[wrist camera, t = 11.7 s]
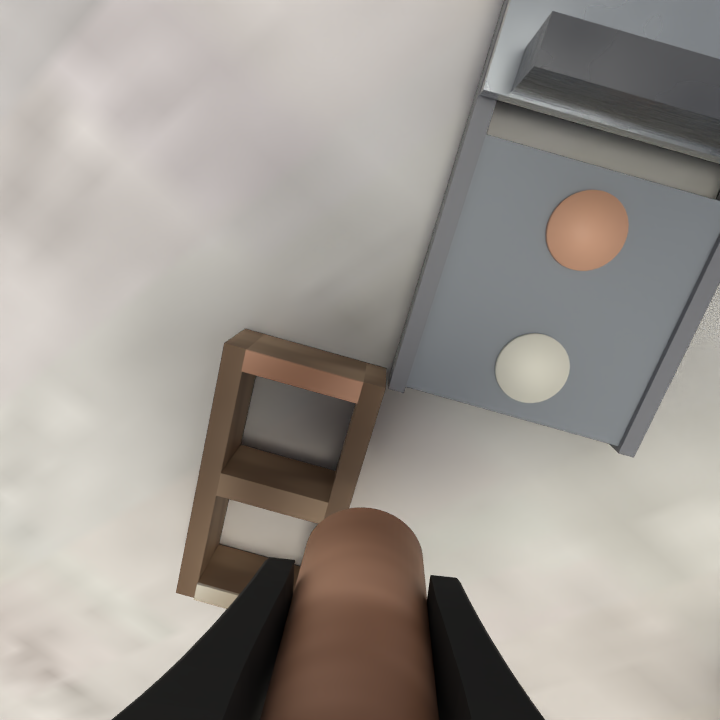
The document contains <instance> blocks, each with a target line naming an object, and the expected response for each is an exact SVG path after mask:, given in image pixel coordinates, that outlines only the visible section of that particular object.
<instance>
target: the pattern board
mask: <svg viewBox="0 0 720 720" xmlns="http://www.w3.org/2000/svg"><path fill="white" fill-rule="evenodd" d="M508 1H509V0H504V3H503V6H502V9H501V13H500V16H499V19H498V23H497V26H496V29H495V32H494V36H493V39H492V42H491V45H490V49H489V52H488V55H487V59H486V62H485V65H484V68H483V72H482V75H481V78H480V81H479V85H478V88H477V91H476V95H475V98H474V101H473V104H472V108H471V111H470V114H469V117H468V121H467V124H466V127H465V130H464V134H463V137H462V140H461V144H460V147H459V150H458V153H457V157H456V160H455V163H454V166H453V170H452V173H451V176H450V180H449V183H448V186H447V189H446V193H445V196H444V199H443V202H442V206H441V209H440V212H439V216H438V219H437V222H436V225H435V229H434V232H433V235H432V238H431V242H430V245H429V248H428V251H427V255H426V258H425V261H424V265H423V268H422V271H421V274H420V278H419V281H418V284H417V287H416V291H415V294H414V297H413V301H412V304H411V307H410V310H409V314H408V317H407V320H406V323H405V327H404V330H403V333H402V337H401V340H400V343H399V346H398V350H397V353H396V356H395V359H394V363H393V366H392V369H391V372H390V376H389V380H388V389H391V390H394V391H398V392H401V393H404V391H405V388H406V387H408V388H412V389H416V390H419V391H423V392H426V393H430V394H433V395H437V396H441V397H444V398H448V399H451V400H455V401H458V402H462V403H466V404H469V405H473V406H476V407H480V408H483V409H487V410H491V411H494V412H498V413H501V414H505V415H508V416H512V417H516V418H519V419H523V420H526V421H530V422H533V423H537V424H541V425H544V426H548V427H551V428H555V429H558V430H562V431H566V432H569V433H573V434H576V435H580V436H583V437H587V438H590V439H594V440H598V441H601V442H605V443H608V444H610V445H611V446H612V447H613V448H614V449H615V450H616V451H617V452H618V453H619V454H623V455H626V456H630V457H634V456H635V454H636V452H637V450H638V448H639V446H640V444H641V442H642V440H643V438H644V436H645V434H646V432H647V430H648V428H649V426H650V424H651V422H652V419H653V417H654V415H655V413H656V411H657V409H658V407H659V405H660V403H661V401H662V399H663V397H664V395H665V393H666V391H667V389H668V387H669V385H670V383H671V381H672V379H673V377H674V375H675V373H676V371H677V369H678V367H679V365H680V362H681V360H682V358H683V356H684V354H685V352H686V350H687V348H688V346H689V344H690V342H691V340H692V338H693V336H694V334H695V332H696V330H697V328H698V326H699V324H700V322H701V320H702V318H703V316H704V314H705V312H706V310H707V308H708V306H709V303H710V301H711V299H712V297H713V295H714V293H715V291H716V289H717V287H718V285H719V283H720V193H719V195H718V197H717V199H716V200H714V199H711V198H707V197H704V196H700V195H697V194H693V193H690V192H686V191H683V190H679V189H676V188H672V187H669V186H665V185H662V184H658V183H655V182H651V181H648V180H644V179H641V178H637V177H634V176H630V175H627V174H624V173H620V172H617V171H613V170H610V169H606V168H603V167H599V166H596V165H592V164H589V163H585V162H582V161H578V160H575V159H571V158H568V157H564V156H561V155H557V154H554V153H550V152H547V151H543V150H540V149H536V148H533V147H529V146H526V145H522V144H519V143H515V142H512V141H508V140H505V139H501V138H498V137H494V136H491V135H487V134H486V133H487V130H488V127H489V124H490V121H491V118H492V115H493V111H494V108H495V105H496V102H497V100H495V99H492V98H489V97H485V96H482V95H480V92H481V89H482V86H483V82H484V79H485V76H486V73H487V69H488V66H489V63H490V60H491V56H492V53H493V50H494V47H495V43H496V40H497V37H498V34H499V30H500V27H501V24H502V21H503V17H504V14H505V11H506V8H507V4H508Z"/></svg>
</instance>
